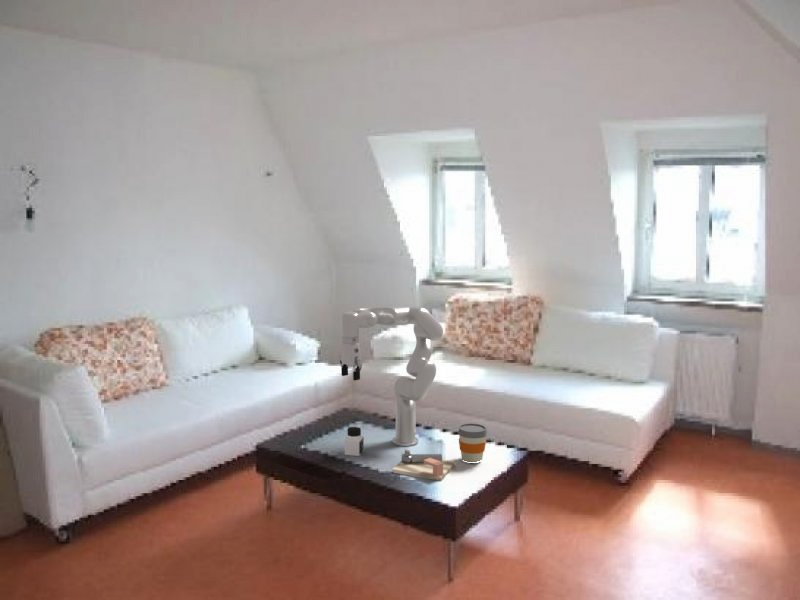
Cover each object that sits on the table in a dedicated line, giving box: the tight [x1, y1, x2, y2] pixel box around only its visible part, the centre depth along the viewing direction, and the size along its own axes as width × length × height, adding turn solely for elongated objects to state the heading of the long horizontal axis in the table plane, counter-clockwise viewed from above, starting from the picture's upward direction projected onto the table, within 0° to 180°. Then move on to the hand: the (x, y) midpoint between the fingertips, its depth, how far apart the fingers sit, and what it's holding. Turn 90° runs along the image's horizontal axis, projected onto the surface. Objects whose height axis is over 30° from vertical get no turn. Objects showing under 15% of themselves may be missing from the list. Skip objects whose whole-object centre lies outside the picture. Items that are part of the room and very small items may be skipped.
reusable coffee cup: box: [457, 422, 488, 462], centre depth 291 cm, size 13×13×15 cm
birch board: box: [391, 449, 456, 482], centre depth 281 cm, size 18×22×7 cm
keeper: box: [424, 458, 443, 477], centre depth 273 cm, size 8×4×5 cm, turn 43°
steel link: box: [401, 453, 443, 463], centre depth 285 cm, size 18×5×2 cm, turn 93°
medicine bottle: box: [344, 425, 365, 457], centre depth 299 cm, size 7×7×12 cm
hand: (350, 377), depth 292 cm, fingers open, 9 cm apart
